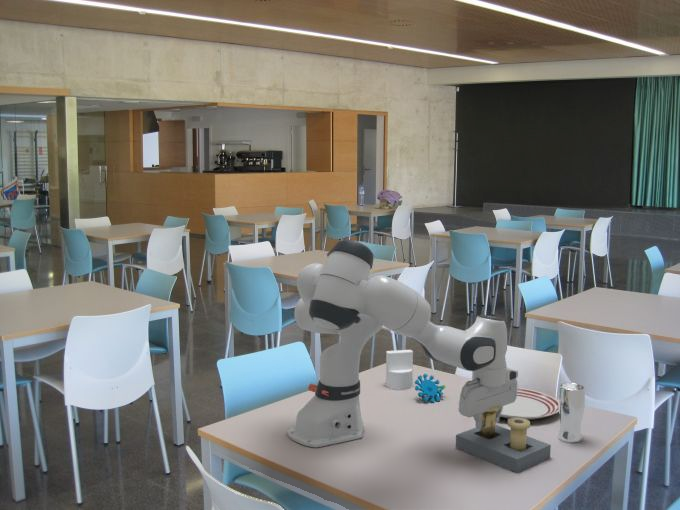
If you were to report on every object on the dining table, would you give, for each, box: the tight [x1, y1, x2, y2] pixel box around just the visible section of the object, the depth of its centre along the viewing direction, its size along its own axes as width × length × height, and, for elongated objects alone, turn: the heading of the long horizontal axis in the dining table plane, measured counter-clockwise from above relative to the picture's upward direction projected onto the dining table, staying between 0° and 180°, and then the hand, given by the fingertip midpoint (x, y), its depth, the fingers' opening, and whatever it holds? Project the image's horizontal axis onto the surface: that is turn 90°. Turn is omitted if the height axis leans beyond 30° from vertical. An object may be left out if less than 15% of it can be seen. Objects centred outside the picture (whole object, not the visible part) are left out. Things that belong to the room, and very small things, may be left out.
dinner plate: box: [500, 387, 559, 421], centre depth 219 cm, size 27×27×3 cm
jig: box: [455, 418, 552, 474], centre depth 186 cm, size 20×14×10 cm
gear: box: [413, 373, 446, 404], centre depth 229 cm, size 11×6×10 cm
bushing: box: [480, 406, 499, 439], centre depth 190 cm, size 6×6×10 cm
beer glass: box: [557, 382, 586, 444], centre depth 195 cm, size 7×7×15 cm
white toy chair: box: [385, 349, 414, 391], centre depth 241 cm, size 9×9×12 cm
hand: (487, 424), depth 190 cm, fingers closed on bushing, 5 cm apart
